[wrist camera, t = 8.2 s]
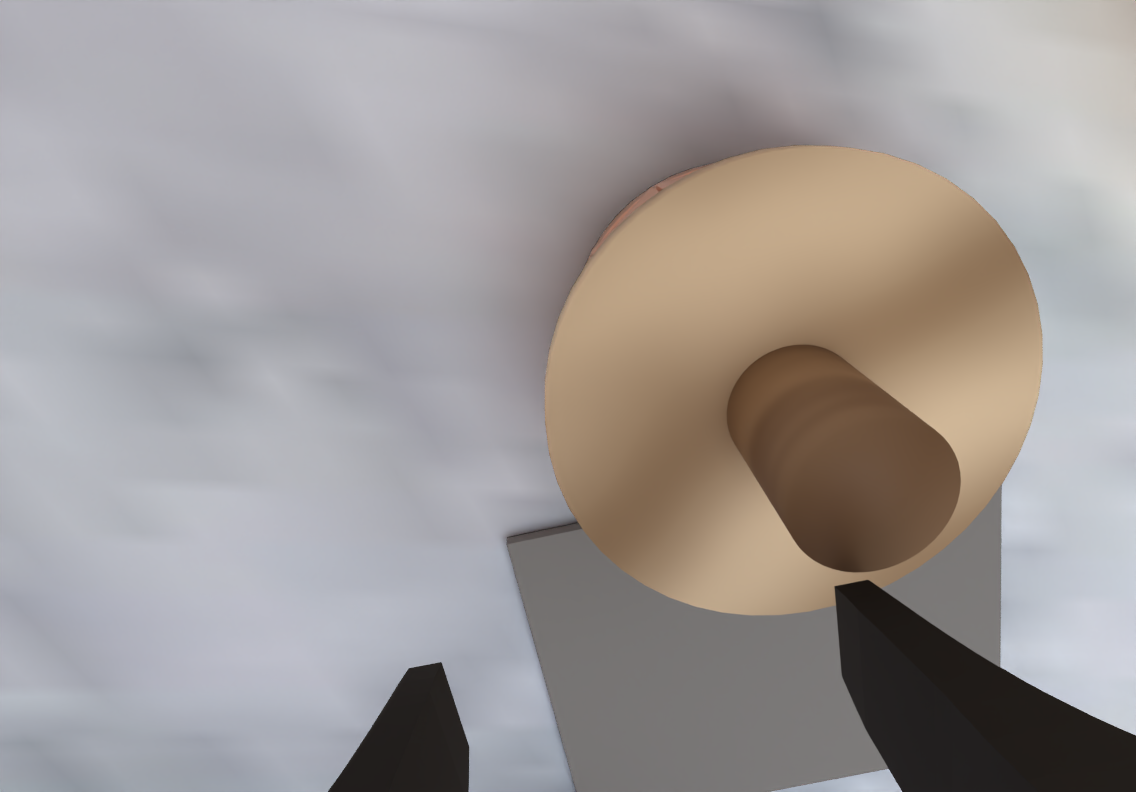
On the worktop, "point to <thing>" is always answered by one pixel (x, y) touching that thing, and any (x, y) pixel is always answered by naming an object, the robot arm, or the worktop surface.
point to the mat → (720, 668)
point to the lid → (791, 378)
